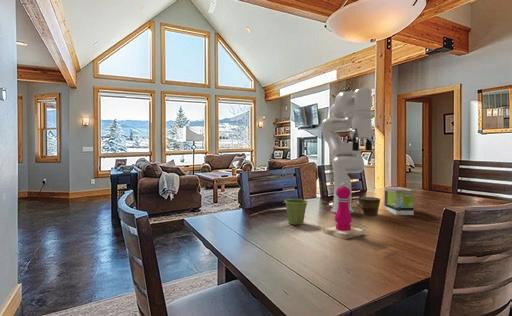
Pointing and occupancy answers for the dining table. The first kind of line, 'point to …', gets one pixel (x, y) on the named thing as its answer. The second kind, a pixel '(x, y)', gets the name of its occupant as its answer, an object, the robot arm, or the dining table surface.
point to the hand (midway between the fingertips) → (362, 150)
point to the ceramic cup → (369, 205)
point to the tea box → (399, 200)
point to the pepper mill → (343, 209)
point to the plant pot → (296, 210)
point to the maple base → (343, 232)
